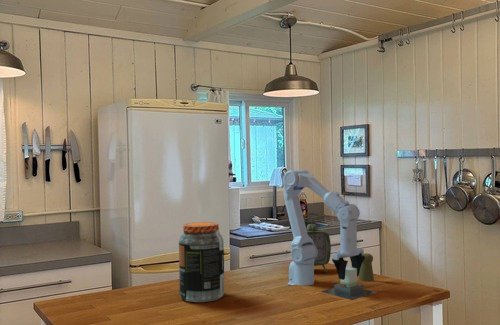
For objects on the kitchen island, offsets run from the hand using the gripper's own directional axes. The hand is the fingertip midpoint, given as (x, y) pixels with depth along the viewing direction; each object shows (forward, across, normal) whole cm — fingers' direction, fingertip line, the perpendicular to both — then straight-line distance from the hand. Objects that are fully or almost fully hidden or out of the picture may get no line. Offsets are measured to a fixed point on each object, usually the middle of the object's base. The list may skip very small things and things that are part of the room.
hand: (348, 277), depth 176 cm
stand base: (+6, 0, 0) cm, 6 cm away
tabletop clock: (+6, +16, +33) cm, 37 cm away
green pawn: (+6, +19, +7) cm, 21 cm away
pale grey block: (+3, 0, 0) cm, 3 cm away
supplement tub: (+6, -41, +32) cm, 52 cm away
